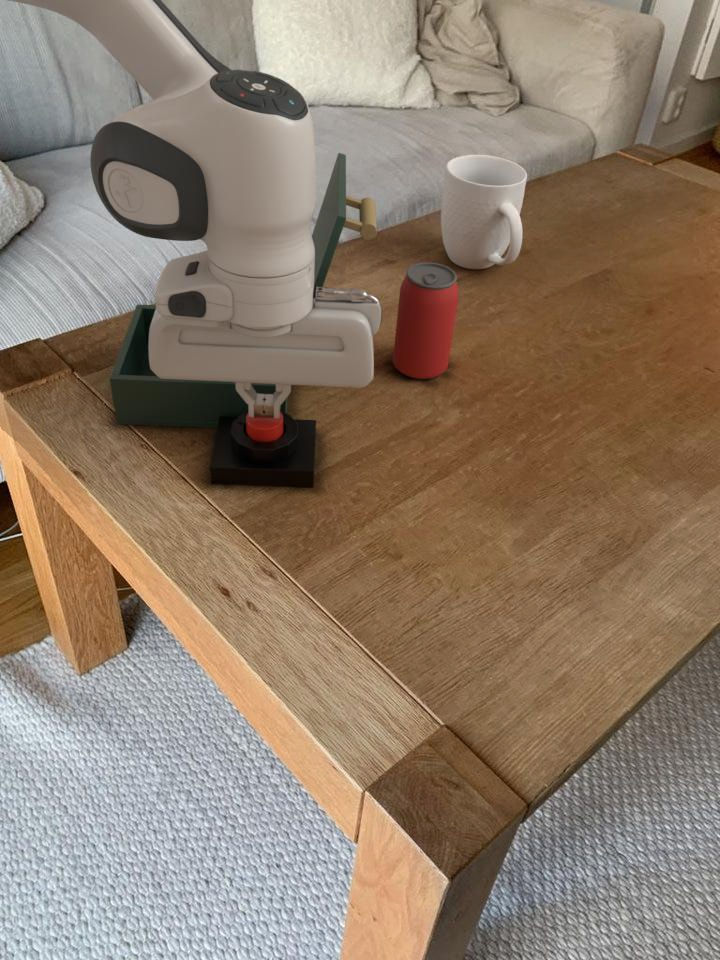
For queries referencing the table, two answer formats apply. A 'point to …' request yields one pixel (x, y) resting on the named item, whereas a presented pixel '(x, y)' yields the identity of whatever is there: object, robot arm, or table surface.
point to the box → (168, 387)
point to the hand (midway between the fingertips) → (264, 414)
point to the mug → (482, 210)
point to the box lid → (339, 220)
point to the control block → (264, 454)
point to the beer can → (425, 320)
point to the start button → (264, 428)
